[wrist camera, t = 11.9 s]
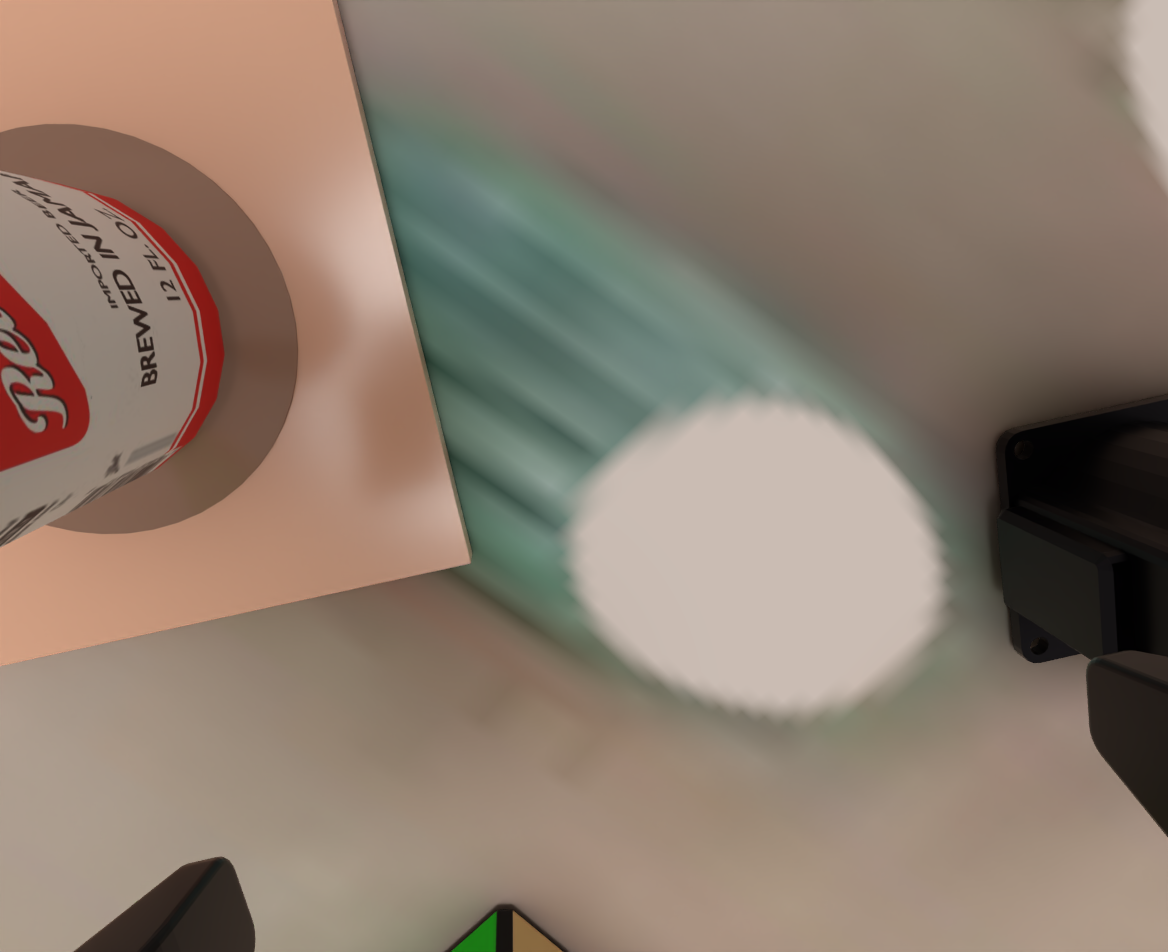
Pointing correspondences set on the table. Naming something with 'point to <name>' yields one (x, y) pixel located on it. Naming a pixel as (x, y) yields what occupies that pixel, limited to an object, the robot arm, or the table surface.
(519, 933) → the puzzle cube
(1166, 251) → the table surface
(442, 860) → the table surface
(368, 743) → the table surface
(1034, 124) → the table surface
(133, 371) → the beer can
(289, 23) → the terracotta tile
